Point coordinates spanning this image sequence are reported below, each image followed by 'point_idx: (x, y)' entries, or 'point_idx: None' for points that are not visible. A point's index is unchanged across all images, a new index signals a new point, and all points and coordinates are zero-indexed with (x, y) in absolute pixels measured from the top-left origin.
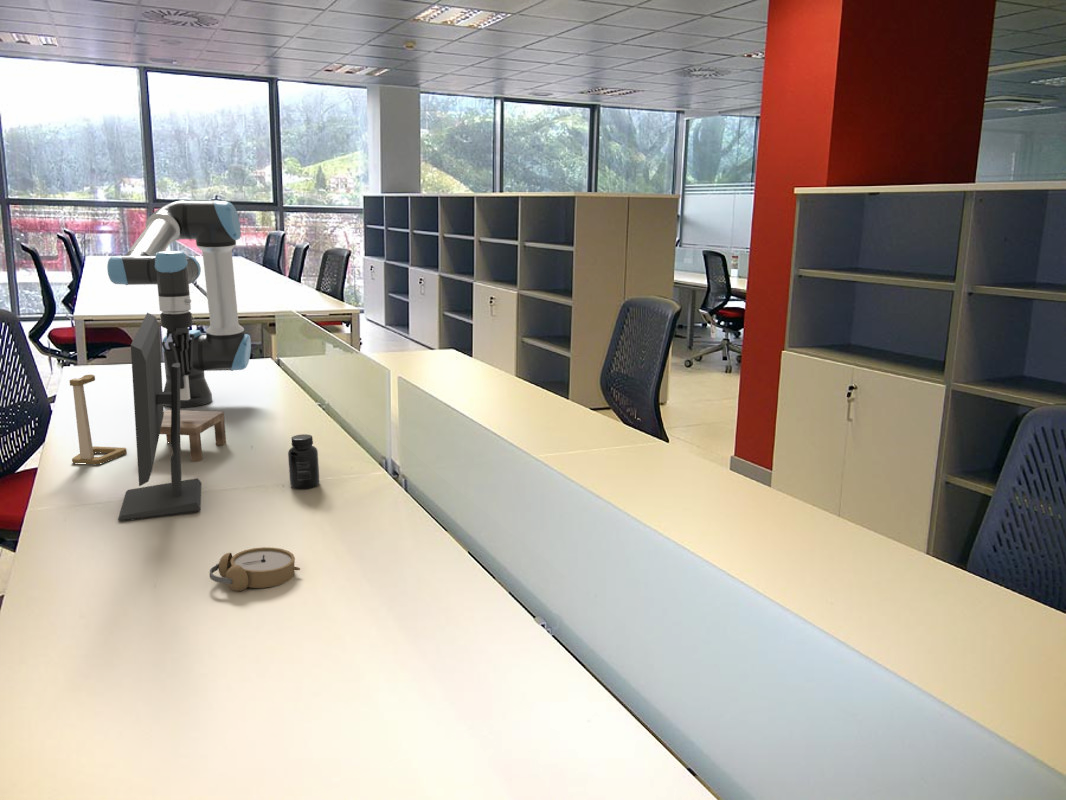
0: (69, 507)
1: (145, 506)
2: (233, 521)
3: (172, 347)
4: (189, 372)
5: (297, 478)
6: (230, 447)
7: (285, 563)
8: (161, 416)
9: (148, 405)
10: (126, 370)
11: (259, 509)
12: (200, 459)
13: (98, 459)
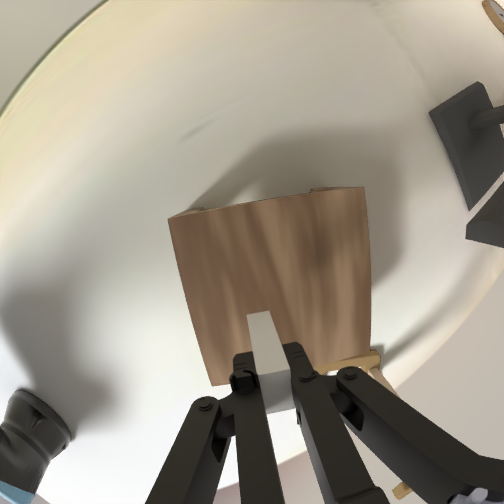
0: (494, 248)
1: (498, 145)
2: (469, 44)
3: (499, 464)
4: (247, 383)
5: None
6: (212, 179)
7: (494, 3)
8: None
9: None
10: (38, 488)
11: (441, 23)
12: (319, 188)
13: (376, 356)
